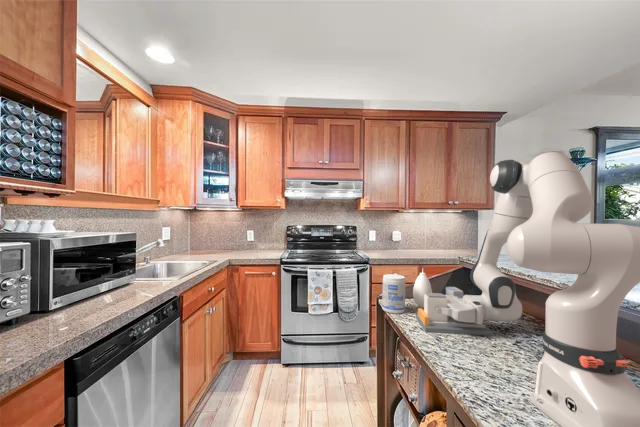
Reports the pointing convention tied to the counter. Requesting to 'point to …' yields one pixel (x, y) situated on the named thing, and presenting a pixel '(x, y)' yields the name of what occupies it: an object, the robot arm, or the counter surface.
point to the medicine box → (454, 292)
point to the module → (435, 301)
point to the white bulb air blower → (421, 289)
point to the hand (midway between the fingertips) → (432, 305)
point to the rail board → (451, 326)
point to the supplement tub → (393, 293)
